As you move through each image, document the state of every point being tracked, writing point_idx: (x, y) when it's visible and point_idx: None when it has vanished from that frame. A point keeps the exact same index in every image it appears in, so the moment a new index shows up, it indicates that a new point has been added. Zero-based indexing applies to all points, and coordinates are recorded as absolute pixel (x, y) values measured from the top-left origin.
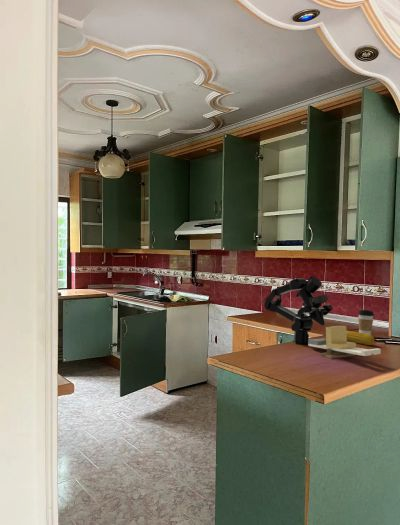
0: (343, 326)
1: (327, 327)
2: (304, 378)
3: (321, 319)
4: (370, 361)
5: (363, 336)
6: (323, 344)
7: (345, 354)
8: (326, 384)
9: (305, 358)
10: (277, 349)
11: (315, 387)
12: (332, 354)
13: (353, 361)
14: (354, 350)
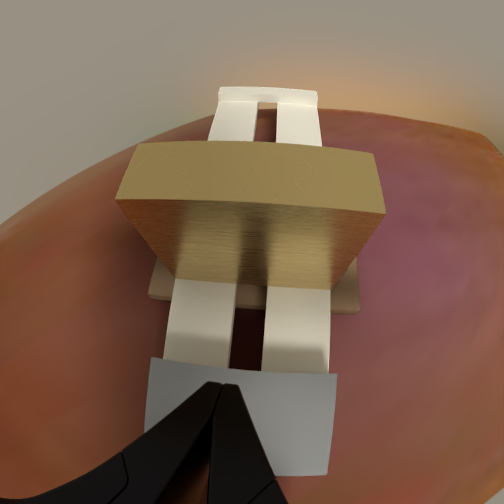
0: (176, 142)
1: (380, 193)
2: (500, 179)
3: (226, 448)
4: None
5: None
6: (265, 371)
7: None
8: (471, 144)
9: (453, 299)
10: (470, 467)
11: (490, 149)
12: None
13: None
14: (291, 139)
